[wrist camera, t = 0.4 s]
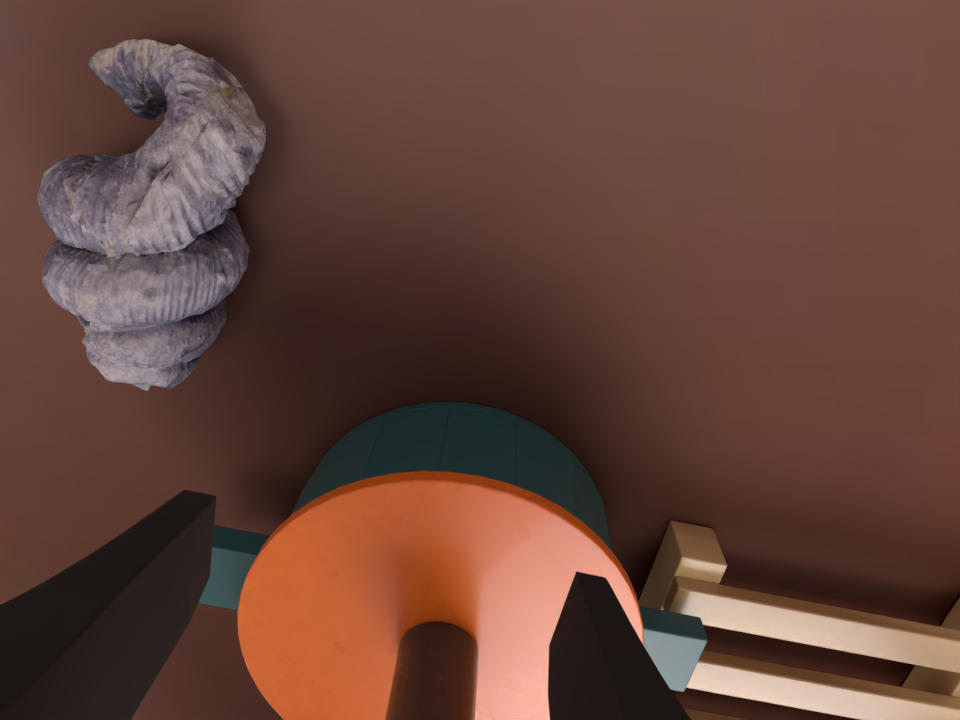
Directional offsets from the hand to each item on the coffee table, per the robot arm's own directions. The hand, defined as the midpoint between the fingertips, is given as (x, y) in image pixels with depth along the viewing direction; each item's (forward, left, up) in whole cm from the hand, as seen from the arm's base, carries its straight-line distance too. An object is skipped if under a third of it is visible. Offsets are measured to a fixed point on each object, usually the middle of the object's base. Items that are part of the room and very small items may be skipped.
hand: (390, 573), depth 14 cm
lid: (-7, -2, -5) cm, 9 cm away
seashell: (+3, +8, -10) cm, 14 cm away
